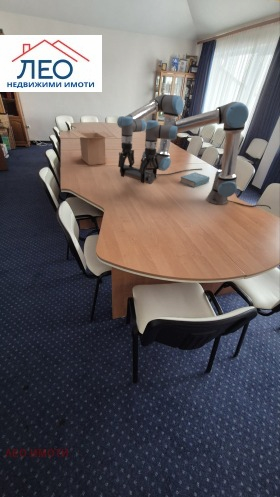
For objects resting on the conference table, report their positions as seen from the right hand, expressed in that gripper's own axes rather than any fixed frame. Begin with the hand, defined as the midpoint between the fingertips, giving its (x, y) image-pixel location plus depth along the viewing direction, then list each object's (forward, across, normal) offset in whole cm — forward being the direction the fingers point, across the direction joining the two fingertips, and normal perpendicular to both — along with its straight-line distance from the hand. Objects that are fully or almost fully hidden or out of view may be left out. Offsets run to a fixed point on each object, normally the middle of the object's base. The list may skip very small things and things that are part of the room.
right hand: (148, 180), depth 156 cm
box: (+14, +36, +101) cm, 108 cm away
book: (+16, +63, -6) cm, 65 cm away
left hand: (+1, 0, +21) cm, 21 cm away
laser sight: (+15, +76, +54) cm, 94 cm away
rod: (+2, 0, +11) cm, 11 cm away
